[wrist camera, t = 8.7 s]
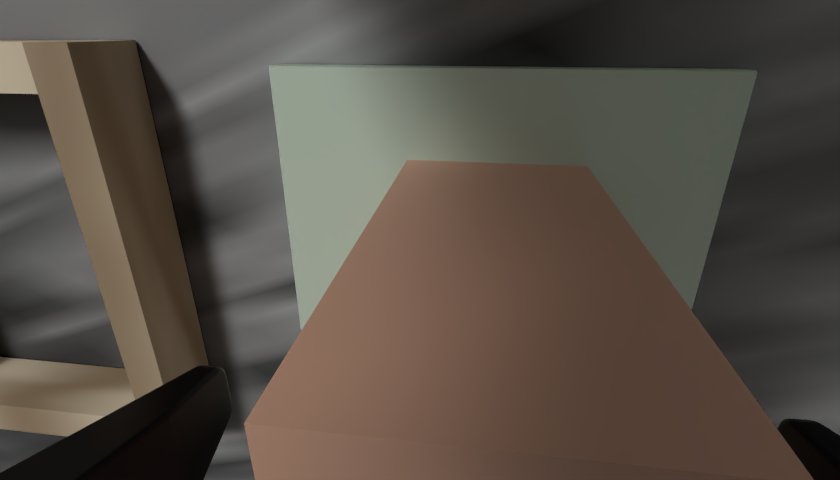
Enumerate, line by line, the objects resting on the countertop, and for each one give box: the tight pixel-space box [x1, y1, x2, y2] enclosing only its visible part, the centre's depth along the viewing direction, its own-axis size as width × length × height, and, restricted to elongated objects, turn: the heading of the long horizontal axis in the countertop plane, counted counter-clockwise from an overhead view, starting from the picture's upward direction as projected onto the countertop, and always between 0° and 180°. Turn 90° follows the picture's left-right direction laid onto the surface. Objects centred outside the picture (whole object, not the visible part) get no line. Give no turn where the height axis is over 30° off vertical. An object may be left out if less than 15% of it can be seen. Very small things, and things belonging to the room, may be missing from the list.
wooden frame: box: [0, 40, 209, 436], centre depth 13 cm, size 9×11×2 cm
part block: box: [244, 160, 814, 480], centre depth 8 cm, size 4×6×8 cm, turn 0°
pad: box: [269, 64, 758, 330], centre depth 12 cm, size 10×10×1 cm
